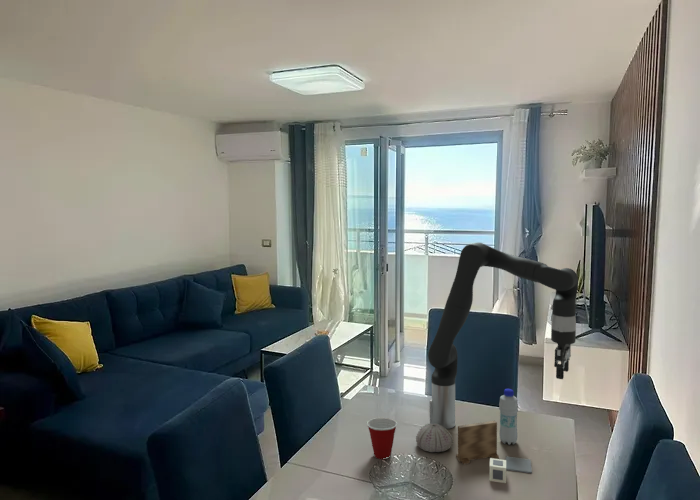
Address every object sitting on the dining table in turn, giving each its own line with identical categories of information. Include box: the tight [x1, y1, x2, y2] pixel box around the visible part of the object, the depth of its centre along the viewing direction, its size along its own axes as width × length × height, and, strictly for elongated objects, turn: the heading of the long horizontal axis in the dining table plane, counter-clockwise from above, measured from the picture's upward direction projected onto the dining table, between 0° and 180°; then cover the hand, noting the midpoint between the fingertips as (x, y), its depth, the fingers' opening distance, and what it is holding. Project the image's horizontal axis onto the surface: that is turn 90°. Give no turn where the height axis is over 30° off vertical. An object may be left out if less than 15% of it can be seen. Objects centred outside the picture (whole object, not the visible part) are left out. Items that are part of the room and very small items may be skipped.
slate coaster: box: [505, 455, 533, 474], centre depth 159 cm, size 8×8×1 cm
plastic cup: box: [366, 417, 398, 460], centre depth 168 cm, size 11×11×12 cm
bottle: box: [498, 388, 519, 446], centre depth 175 cm, size 7×7×20 cm
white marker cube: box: [489, 457, 507, 484], centre depth 152 cm, size 5×5×5 cm
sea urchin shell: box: [415, 423, 454, 453], centre depth 173 cm, size 13×14×8 cm
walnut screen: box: [455, 420, 500, 465], centre depth 164 cm, size 14×5×12 cm, turn 104°
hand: (562, 374), depth 162 cm, fingers open, 8 cm apart
